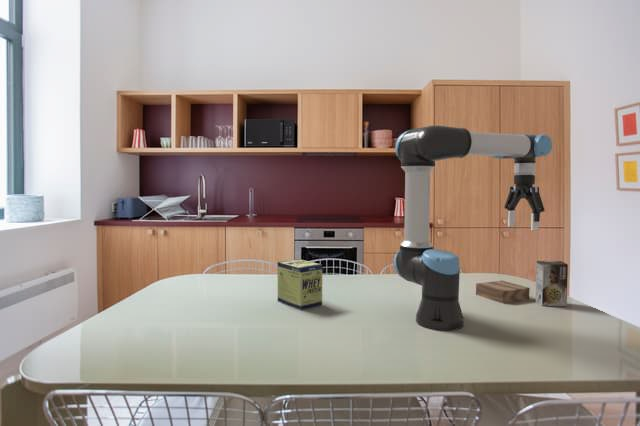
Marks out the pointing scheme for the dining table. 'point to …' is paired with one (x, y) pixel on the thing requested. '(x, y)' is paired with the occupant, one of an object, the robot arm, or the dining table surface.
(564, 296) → the coffee box
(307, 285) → the protein box
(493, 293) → the walnut riser block
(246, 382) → the dining table surface
